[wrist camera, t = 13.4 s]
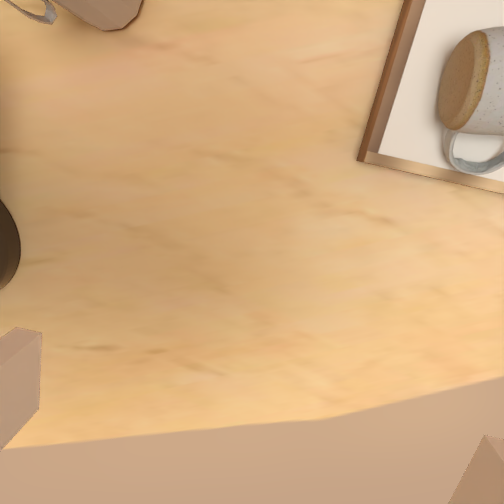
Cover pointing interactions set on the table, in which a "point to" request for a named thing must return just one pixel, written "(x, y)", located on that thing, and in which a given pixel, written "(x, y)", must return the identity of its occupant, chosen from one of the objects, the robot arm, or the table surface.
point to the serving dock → (385, 100)
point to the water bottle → (91, 12)
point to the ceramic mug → (474, 95)
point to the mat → (438, 88)
